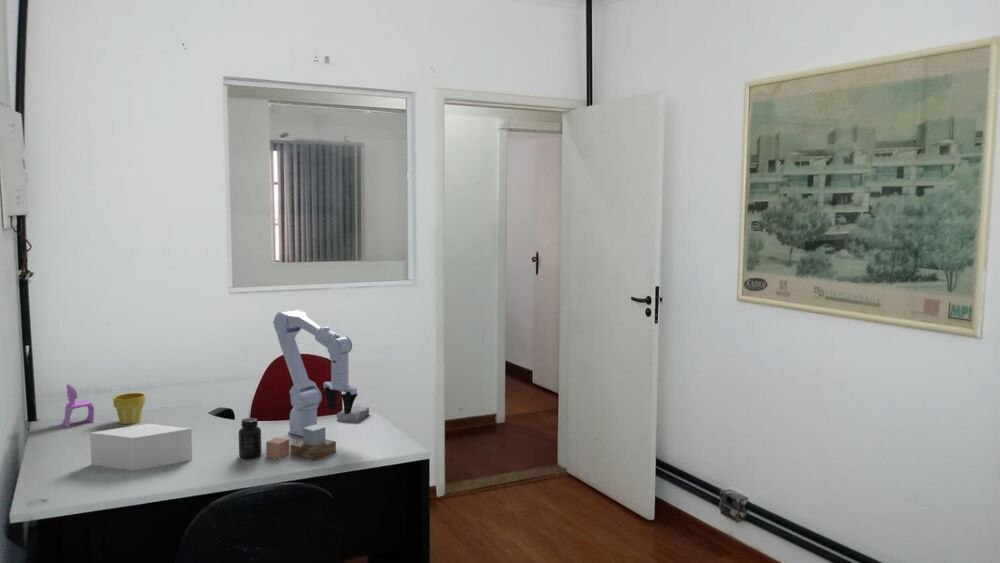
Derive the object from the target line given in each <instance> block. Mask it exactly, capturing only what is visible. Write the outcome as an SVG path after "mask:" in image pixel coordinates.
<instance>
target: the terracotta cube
mask: <svg viewBox="0 0 1000 563" xmlns="http://www.w3.org/2000/svg"><path fill="white" fill-rule="evenodd" d="M265 445H266V446H265V447H266V450H265V452H266V454H265V455H266V457H267V458H271V457H272V459H279V458H280V459H282V458H284V457H286V456H288V455H290V439H289V438H285V437H278V436H276V437H273V438H272V439H269V440H267V441H266V443H265ZM280 459H279V460H280Z"/></svg>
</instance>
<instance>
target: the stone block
mask: <svg viewBox="0 0 1000 563" xmlns="http://www.w3.org/2000/svg"><path fill="white" fill-rule="evenodd" d="M369 414H370V408H369V406H362V405H354V406H353V405H352V409H351V413H349V414H345V413H344V408H343V409H342V410H341V411H339V412H338V413H337V414H336V420H337V421H338V422H345V423H347V422H348V423H349V422H350V423H359V422H361V421H362V420H364V418H366V417H367V416H368V415H369Z"/></svg>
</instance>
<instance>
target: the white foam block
mask: <svg viewBox="0 0 1000 563" xmlns="http://www.w3.org/2000/svg"><path fill="white" fill-rule="evenodd" d="M89 436H90V437H89V439H90V459H91V460H90V465H91V466H98V467H105V468H114V469H120V470H126V471H133V472H136V471H141V470H145V469H150V468H156V467H162V466H166V465H173V464H178V463H183V462H188V461H192V460H193V443H192V442H193V441H192V428H189V427H179V426H173V425H172V426H170V425H162V424H154V423H145V424H138V425H132V426H126V427H119V428H113V429H105V430H98V431H93V432H92V431H91V432H90V433H89Z"/></svg>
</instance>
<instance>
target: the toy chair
mask: <svg viewBox="0 0 1000 563" xmlns="http://www.w3.org/2000/svg"><path fill="white" fill-rule="evenodd" d="M66 394H67V398H68V399H67V400H68V402H67V403H66V406H65V408H64V418H63V420H62V421H63V422H62V424H61V425H63V426H65V427H67V428H70V425H71V424H70V423H71V422H70V421H71V416H72V413H73V411H74V410H77V409H79V408H84V407H85V408H86V407H87V411H88V413H87V417H86V419H85V420H86V421H88V422H90V423H93V424H94V421H95V420H94V419H95V415H94V414H95V407H94V405H93V402H90V401H88V400H87V399H84V400H79V401H75V400H77V398H78V394H77V390H76V388H75V387H74V386H73V385H72V384H69V383H67V384H66ZM78 399H79V398H78Z"/></svg>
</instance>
